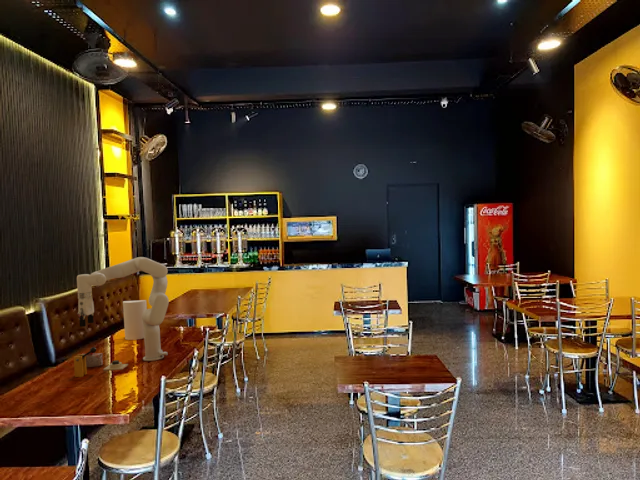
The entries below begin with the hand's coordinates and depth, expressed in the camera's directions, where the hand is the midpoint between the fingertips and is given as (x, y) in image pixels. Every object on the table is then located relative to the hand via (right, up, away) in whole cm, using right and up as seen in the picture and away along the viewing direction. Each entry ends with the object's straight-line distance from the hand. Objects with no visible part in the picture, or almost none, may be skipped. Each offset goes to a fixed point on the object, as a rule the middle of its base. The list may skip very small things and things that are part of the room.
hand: (86, 324), depth 292 cm
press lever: (+6, -16, -11) cm, 20 cm away
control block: (+16, -27, +2) cm, 32 cm away
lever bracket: (+2, -28, -10) cm, 30 cm away
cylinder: (-3, -25, +90) cm, 93 cm away
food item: (-2, -28, +10) cm, 30 cm away
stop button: (+16, -24, +2) cm, 29 cm away
